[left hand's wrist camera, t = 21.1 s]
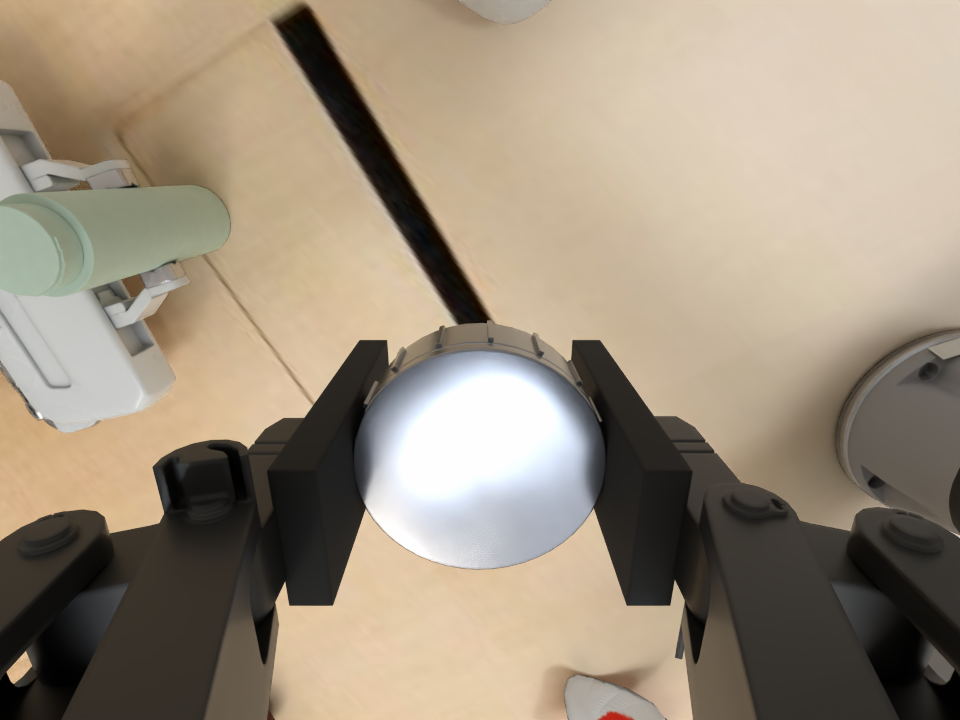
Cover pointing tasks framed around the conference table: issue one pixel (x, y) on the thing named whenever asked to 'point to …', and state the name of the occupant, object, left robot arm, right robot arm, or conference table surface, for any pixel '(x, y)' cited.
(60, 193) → the bottle
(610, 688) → the fish
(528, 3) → the projector
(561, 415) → the lid
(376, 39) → the conference table surface
